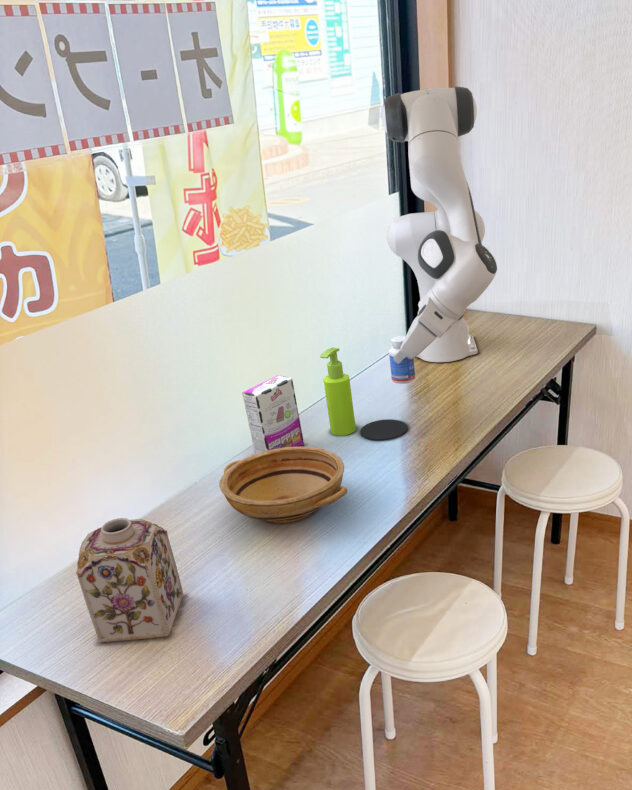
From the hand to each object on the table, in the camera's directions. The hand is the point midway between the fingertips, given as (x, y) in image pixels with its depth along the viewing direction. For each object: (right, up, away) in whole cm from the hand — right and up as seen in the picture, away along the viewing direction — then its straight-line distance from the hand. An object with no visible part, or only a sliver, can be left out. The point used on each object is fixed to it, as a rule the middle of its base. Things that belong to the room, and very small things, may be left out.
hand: (398, 355), depth 191 cm
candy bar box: (-27, -22, +2) cm, 35 cm away
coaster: (-3, -16, +7) cm, 18 cm away
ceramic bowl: (-22, -34, -22) cm, 46 cm away
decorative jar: (-41, -52, -51) cm, 84 cm away
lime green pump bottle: (-13, -17, +9) cm, 23 cm away
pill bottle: (+1, -5, +3) cm, 6 cm away
